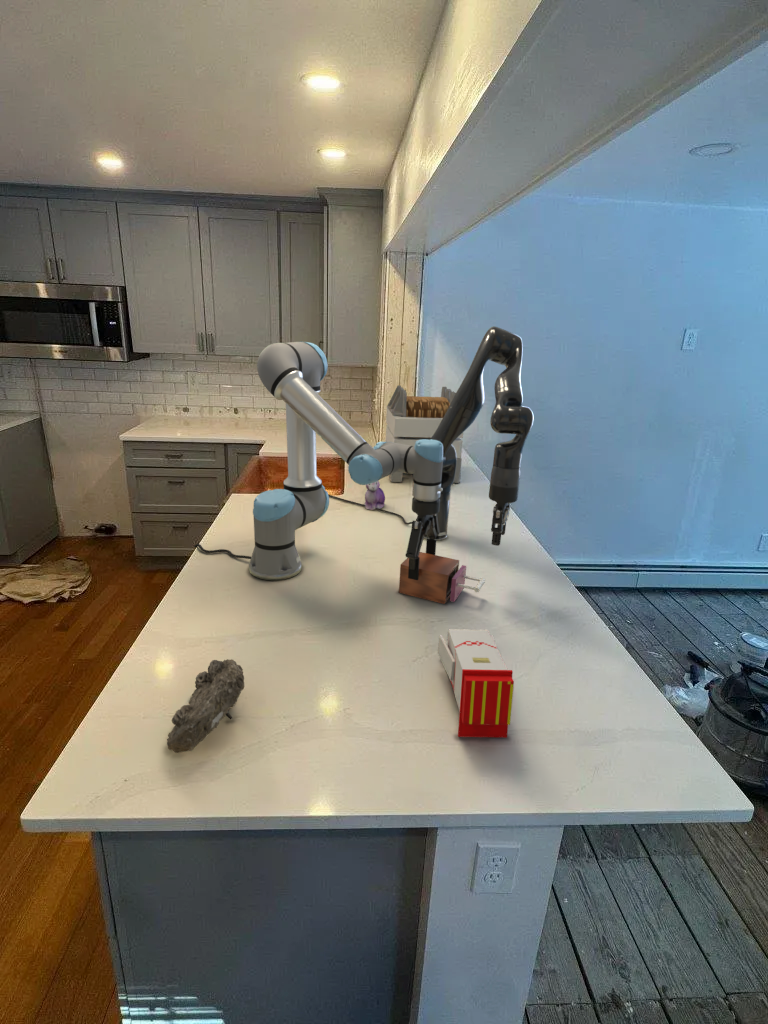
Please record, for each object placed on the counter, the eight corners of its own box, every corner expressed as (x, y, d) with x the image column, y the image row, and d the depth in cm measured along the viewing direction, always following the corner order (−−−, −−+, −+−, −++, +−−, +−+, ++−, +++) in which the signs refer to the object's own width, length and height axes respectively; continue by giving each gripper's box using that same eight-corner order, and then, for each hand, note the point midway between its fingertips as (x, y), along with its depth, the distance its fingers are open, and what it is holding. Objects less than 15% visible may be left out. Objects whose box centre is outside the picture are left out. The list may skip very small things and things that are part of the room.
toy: (488, 613, 130) (523, 677, 101) (484, 667, 133) (517, 744, 104) (435, 612, 130) (455, 676, 101) (432, 666, 133) (451, 743, 103)
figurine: (369, 511, 219) (370, 474, 214) (358, 503, 228) (359, 467, 223) (390, 509, 224) (392, 472, 219) (378, 501, 232) (380, 465, 227)
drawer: (485, 592, 159) (487, 570, 157) (476, 607, 151) (478, 584, 148) (423, 577, 166) (425, 556, 163) (411, 591, 158) (412, 569, 155)
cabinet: (456, 587, 163) (459, 560, 160) (445, 604, 154) (447, 575, 151) (412, 577, 168) (414, 550, 165) (398, 592, 159) (400, 564, 156)
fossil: (192, 660, 117) (244, 628, 112) (224, 691, 120) (276, 661, 115) (142, 746, 98) (202, 712, 93) (182, 779, 101) (242, 748, 96)
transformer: (382, 463, 289) (386, 382, 275) (445, 464, 293) (451, 384, 279) (390, 482, 257) (394, 392, 243) (460, 483, 261) (468, 394, 247)
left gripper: (423, 513, 140) (418, 590, 147) (453, 487, 162) (448, 555, 169) (395, 508, 143) (392, 584, 150) (428, 484, 165) (424, 551, 172)
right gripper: (515, 491, 141) (508, 551, 147) (522, 477, 154) (515, 532, 159) (485, 487, 144) (479, 546, 149) (494, 473, 156) (489, 528, 162)
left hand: (421, 569), depth 160 cm, fingers open, 13 cm apart
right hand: (498, 539), depth 154 cm, fingers open, 8 cm apart
